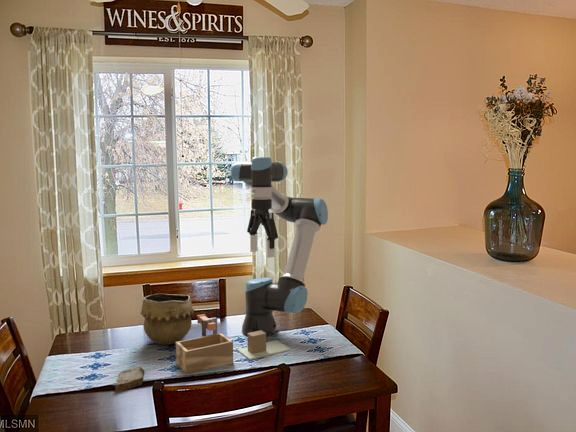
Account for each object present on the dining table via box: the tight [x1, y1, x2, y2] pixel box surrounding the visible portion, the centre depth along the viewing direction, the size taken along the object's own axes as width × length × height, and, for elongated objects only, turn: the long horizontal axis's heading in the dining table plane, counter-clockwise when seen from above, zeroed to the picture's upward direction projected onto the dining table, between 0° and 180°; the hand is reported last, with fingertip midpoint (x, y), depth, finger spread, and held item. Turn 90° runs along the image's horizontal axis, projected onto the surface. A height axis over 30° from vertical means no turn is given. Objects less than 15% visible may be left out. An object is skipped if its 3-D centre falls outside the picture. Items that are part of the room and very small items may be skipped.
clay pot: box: [140, 293, 195, 346], centre depth 201 cm, size 21×21×20 cm
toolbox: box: [175, 332, 234, 375], centre depth 181 cm, size 11×18×8 cm, turn 121°
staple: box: [201, 317, 218, 337], centre depth 192 cm, size 2×6×13 cm, turn 121°
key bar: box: [196, 313, 216, 332], centre depth 194 cm, size 12×3×3 cm, turn 31°
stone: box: [114, 366, 146, 393], centre depth 167 cm, size 15×8×3 cm, turn 11°
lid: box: [236, 330, 291, 361], centre depth 193 cm, size 11×18×8 cm, turn 122°
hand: (262, 254), depth 187 cm, fingers open, 13 cm apart
